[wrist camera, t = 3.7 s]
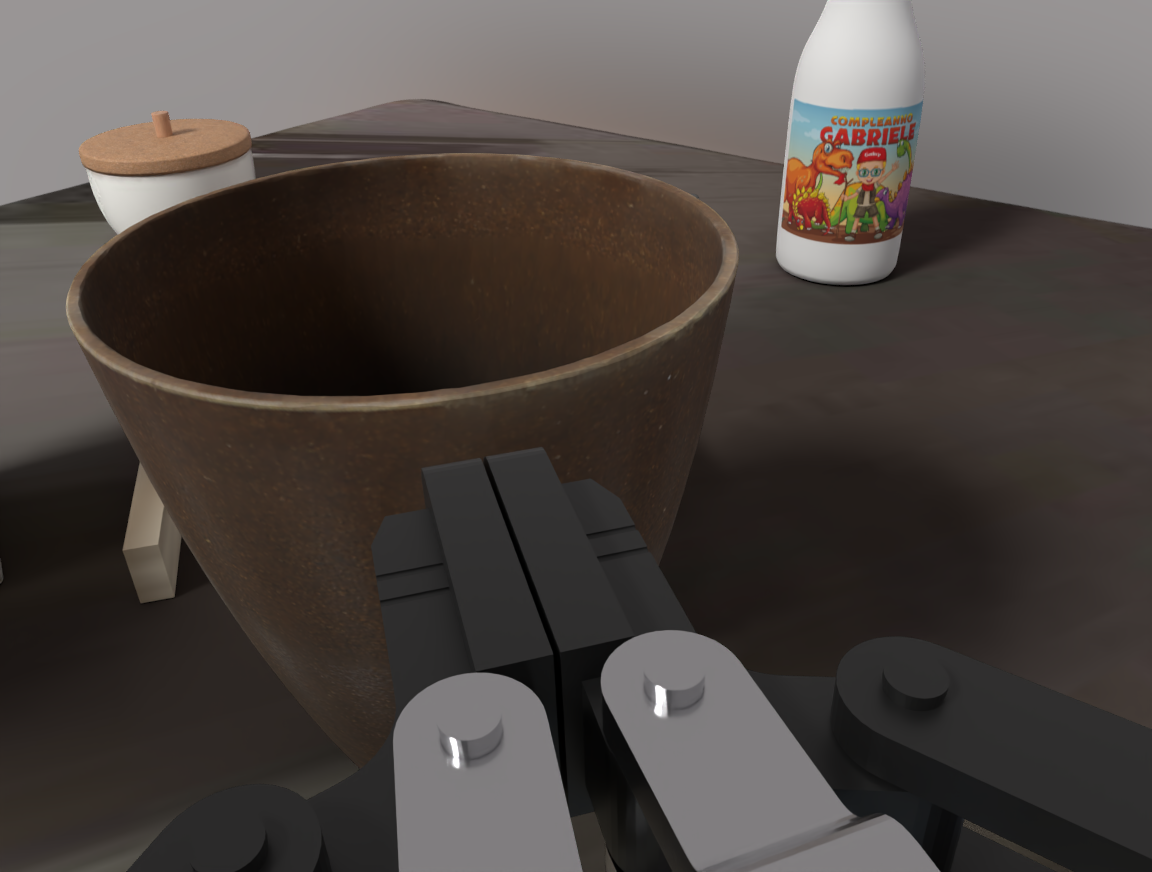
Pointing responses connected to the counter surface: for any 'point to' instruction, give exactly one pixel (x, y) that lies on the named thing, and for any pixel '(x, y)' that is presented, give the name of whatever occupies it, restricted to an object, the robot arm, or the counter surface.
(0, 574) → the coffee box
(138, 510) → the wooden frame
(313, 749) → the counter surface
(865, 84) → the milk bottle
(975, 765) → the robot arm
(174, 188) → the lidded jar
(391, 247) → the plant pot
